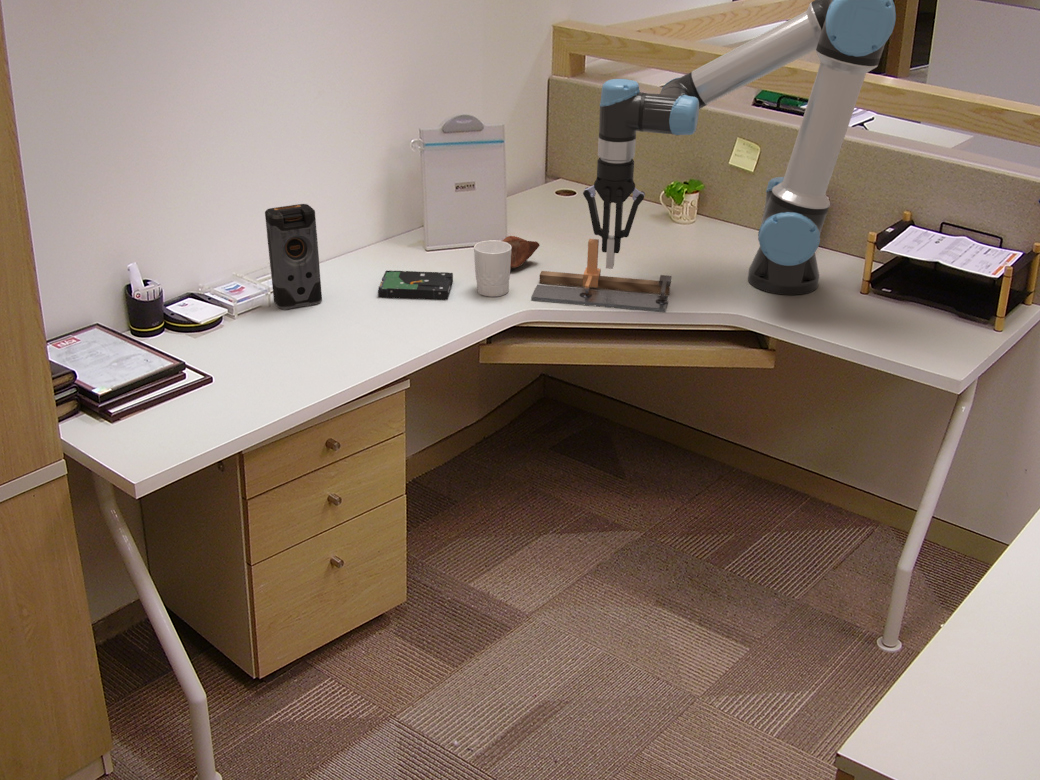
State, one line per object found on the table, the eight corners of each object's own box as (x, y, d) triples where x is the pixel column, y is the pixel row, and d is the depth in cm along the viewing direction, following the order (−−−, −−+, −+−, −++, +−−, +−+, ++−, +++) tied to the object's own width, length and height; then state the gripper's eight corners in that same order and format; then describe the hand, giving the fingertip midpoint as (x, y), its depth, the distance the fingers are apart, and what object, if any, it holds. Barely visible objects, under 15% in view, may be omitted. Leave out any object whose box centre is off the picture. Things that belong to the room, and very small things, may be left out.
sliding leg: (600, 280, 235) (602, 238, 230) (593, 297, 226) (596, 254, 221) (585, 278, 235) (587, 236, 231) (578, 296, 226) (580, 253, 222)
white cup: (506, 299, 226) (507, 254, 221) (470, 296, 227) (469, 251, 223) (514, 285, 233) (514, 241, 228) (479, 282, 234) (478, 238, 230)
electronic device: (280, 311, 219) (271, 217, 210) (272, 301, 224) (262, 208, 214) (324, 303, 223) (317, 210, 214) (315, 293, 228) (307, 202, 218)
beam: (670, 289, 232) (671, 275, 230) (667, 307, 224) (668, 292, 222) (541, 278, 237) (542, 264, 235) (533, 295, 228) (534, 281, 227)
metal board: (669, 299, 227) (669, 295, 227) (666, 312, 221) (666, 308, 221) (537, 288, 232) (537, 284, 231) (531, 300, 226) (531, 296, 225)
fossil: (542, 244, 246) (527, 216, 238) (546, 271, 241) (532, 244, 233) (490, 261, 248) (474, 234, 241) (493, 289, 244) (477, 262, 236)
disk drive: (453, 284, 235) (385, 281, 235) (453, 272, 234) (385, 269, 234) (448, 302, 226) (377, 299, 226) (448, 290, 224) (377, 287, 225)
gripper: (649, 155, 222) (642, 262, 233) (587, 151, 224) (582, 257, 235) (646, 165, 215) (638, 275, 227) (581, 161, 218) (577, 270, 229)
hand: (609, 266), depth 231 cm, fingers closed
